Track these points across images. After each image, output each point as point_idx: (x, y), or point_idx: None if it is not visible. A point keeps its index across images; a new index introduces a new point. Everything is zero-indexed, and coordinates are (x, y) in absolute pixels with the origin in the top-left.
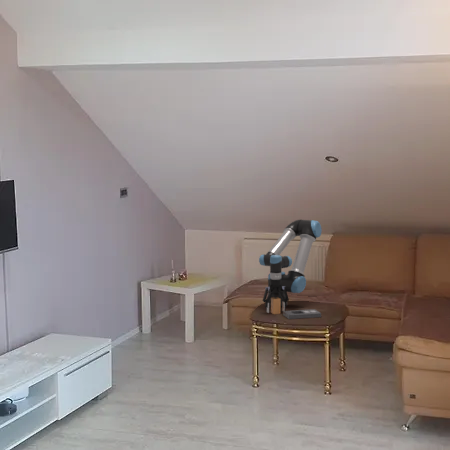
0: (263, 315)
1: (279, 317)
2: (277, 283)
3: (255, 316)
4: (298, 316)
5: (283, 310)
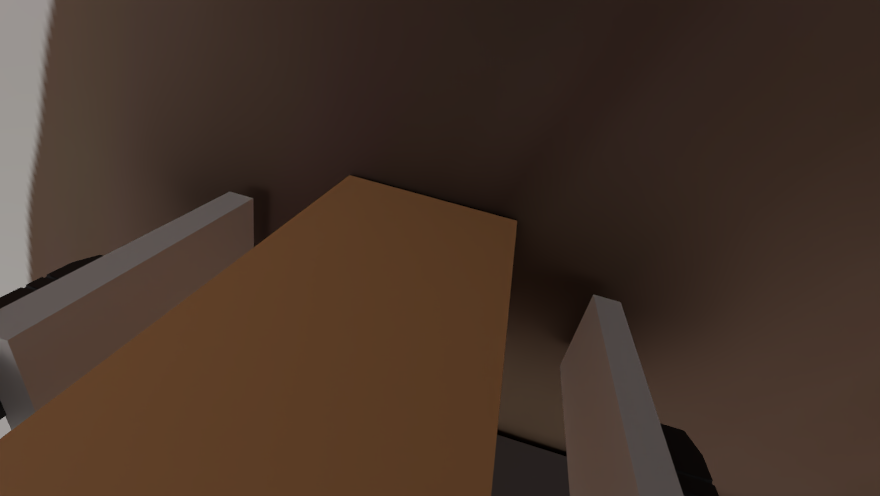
0: None
1: None
2: None
3: (37, 263)
4: None
5: (565, 382)
